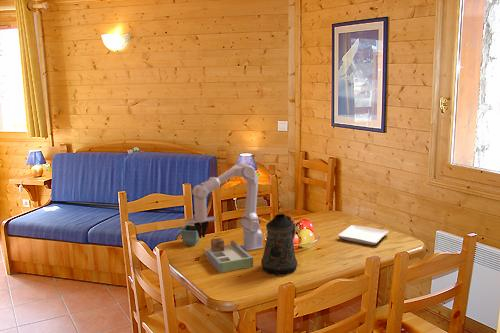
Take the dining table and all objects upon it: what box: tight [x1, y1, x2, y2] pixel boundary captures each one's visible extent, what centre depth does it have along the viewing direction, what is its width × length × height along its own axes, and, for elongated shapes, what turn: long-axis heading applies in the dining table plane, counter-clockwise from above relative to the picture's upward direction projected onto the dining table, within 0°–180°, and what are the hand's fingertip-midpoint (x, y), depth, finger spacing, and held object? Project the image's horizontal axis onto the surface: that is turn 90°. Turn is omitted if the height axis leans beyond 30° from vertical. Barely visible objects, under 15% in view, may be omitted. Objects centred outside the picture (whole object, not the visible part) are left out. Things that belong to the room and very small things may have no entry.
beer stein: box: [260, 213, 298, 277], centre depth 222 cm, size 16×19×25 cm
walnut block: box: [210, 237, 225, 252], centre depth 240 cm, size 5×5×5 cm
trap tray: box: [204, 240, 254, 274], centre depth 234 cm, size 16×25×4 cm, turn 23°
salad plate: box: [337, 224, 389, 246], centre depth 261 cm, size 21×21×3 cm
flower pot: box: [179, 224, 200, 247], centre depth 255 cm, size 9×9×9 cm
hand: (201, 237), depth 236 cm, fingers closed
